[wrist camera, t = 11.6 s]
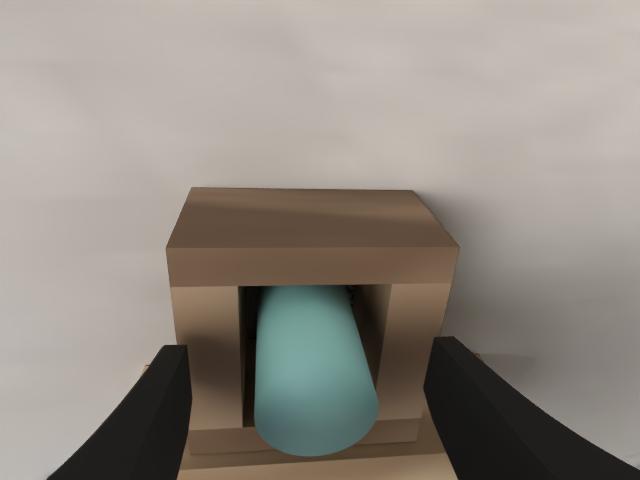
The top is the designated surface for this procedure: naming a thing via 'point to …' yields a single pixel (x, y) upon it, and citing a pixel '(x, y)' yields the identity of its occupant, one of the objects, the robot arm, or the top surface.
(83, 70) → the top surface
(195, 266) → the block
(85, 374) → the top surface
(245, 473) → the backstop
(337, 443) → the dowel
